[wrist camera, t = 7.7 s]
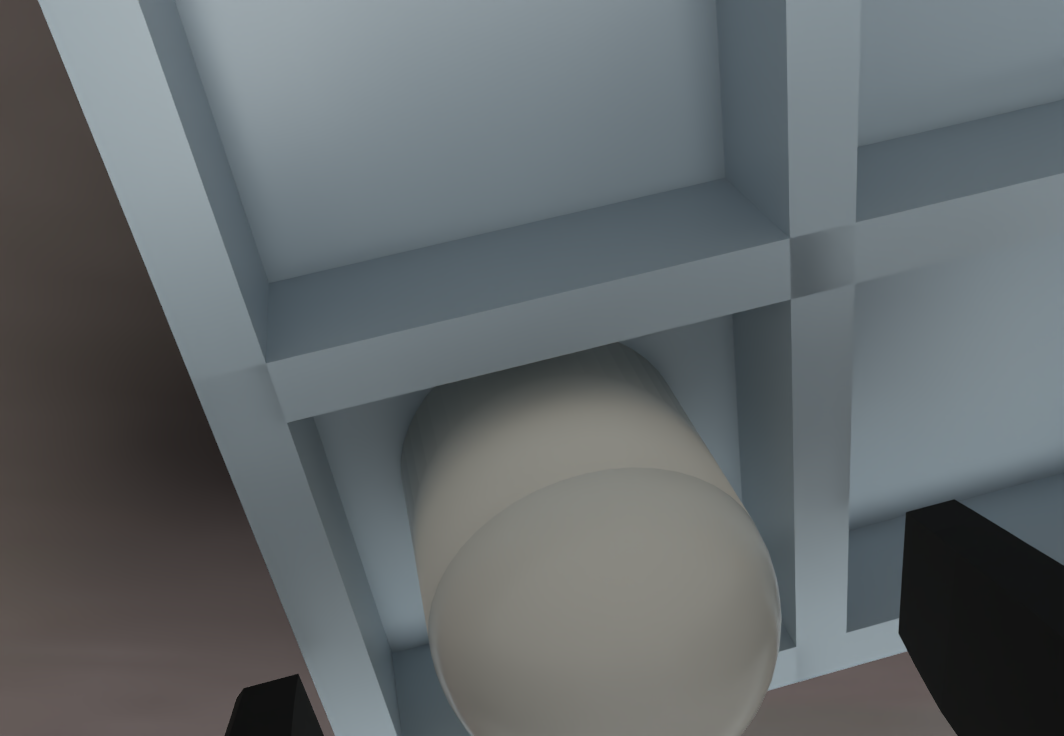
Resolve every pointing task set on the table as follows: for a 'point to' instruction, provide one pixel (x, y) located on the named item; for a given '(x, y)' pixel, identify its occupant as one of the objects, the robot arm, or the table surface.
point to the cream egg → (585, 556)
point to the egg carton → (600, 268)
